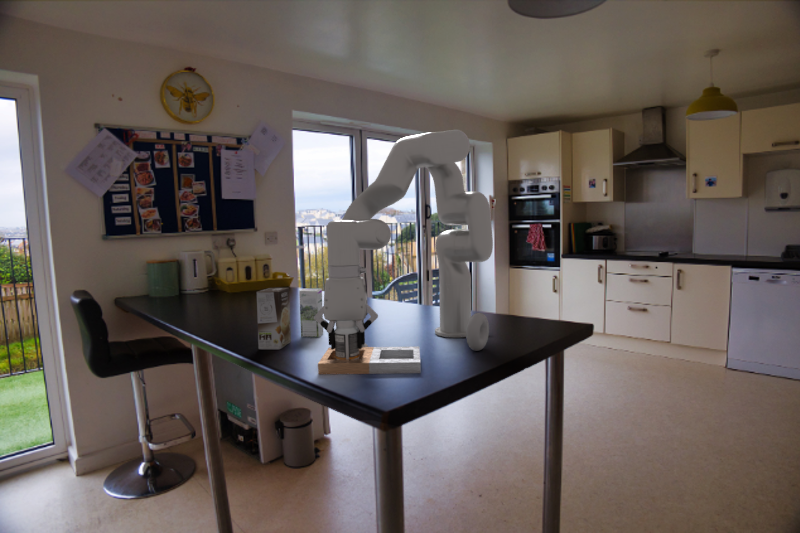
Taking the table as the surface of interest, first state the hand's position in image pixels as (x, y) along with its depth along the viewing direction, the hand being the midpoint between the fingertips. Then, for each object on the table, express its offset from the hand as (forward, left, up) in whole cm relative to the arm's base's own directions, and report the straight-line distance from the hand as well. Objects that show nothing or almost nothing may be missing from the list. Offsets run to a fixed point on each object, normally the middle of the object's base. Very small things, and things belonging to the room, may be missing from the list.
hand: (347, 347), depth 113 cm
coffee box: (+23, -20, -5) cm, 31 cm away
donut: (-33, -12, -5) cm, 35 cm away
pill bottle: (0, 0, -3) cm, 3 cm away
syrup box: (+15, -32, -5) cm, 36 cm away
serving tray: (-6, 0, -4) cm, 7 cm away
